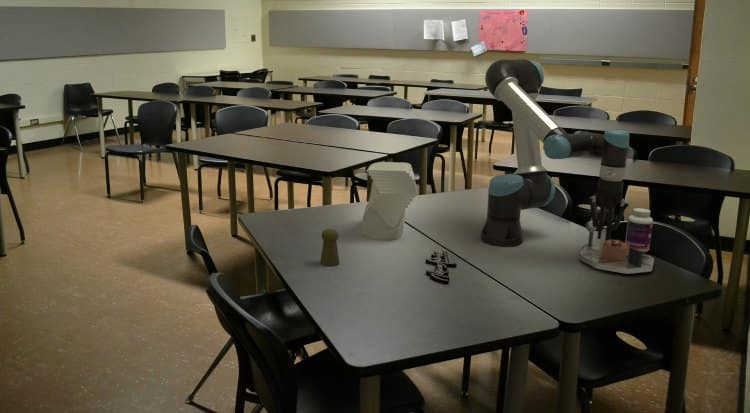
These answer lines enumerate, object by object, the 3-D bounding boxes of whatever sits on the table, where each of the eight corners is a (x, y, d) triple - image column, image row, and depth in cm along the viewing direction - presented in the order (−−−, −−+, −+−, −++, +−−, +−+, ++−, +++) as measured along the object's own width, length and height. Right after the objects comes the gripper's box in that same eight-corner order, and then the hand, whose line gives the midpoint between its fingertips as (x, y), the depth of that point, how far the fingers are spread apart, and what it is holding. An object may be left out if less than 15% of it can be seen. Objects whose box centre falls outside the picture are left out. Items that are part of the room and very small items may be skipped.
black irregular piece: (461, 281, 184) (427, 280, 184) (461, 286, 184) (427, 285, 184) (453, 251, 210) (423, 250, 211) (452, 255, 211) (423, 254, 211)
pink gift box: (601, 256, 204) (603, 242, 203) (606, 251, 210) (608, 236, 209) (624, 260, 201) (626, 246, 199) (628, 255, 206) (630, 240, 205)
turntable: (567, 253, 212) (569, 234, 210) (621, 248, 219) (623, 229, 217) (610, 275, 192) (612, 255, 190) (668, 269, 199) (671, 249, 197)
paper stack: (353, 240, 222) (354, 169, 216) (371, 220, 248) (373, 156, 241) (412, 246, 218) (415, 173, 211) (424, 225, 243) (428, 160, 237)
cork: (342, 261, 201) (342, 228, 198) (334, 267, 195) (335, 233, 193) (324, 259, 203) (325, 226, 200) (317, 265, 197) (317, 231, 194)
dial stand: (580, 250, 218) (584, 220, 215) (585, 246, 223) (588, 216, 220) (599, 254, 215) (602, 223, 212) (603, 249, 220) (606, 219, 217)
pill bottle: (651, 254, 216) (657, 214, 212) (626, 252, 217) (631, 212, 214) (646, 247, 224) (651, 208, 220) (622, 245, 225) (627, 206, 222)
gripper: (587, 177, 201) (579, 248, 207) (630, 183, 195) (620, 255, 200) (593, 174, 207) (585, 242, 213) (634, 179, 201) (625, 249, 207)
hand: (602, 248), depth 207 cm, fingers closed
